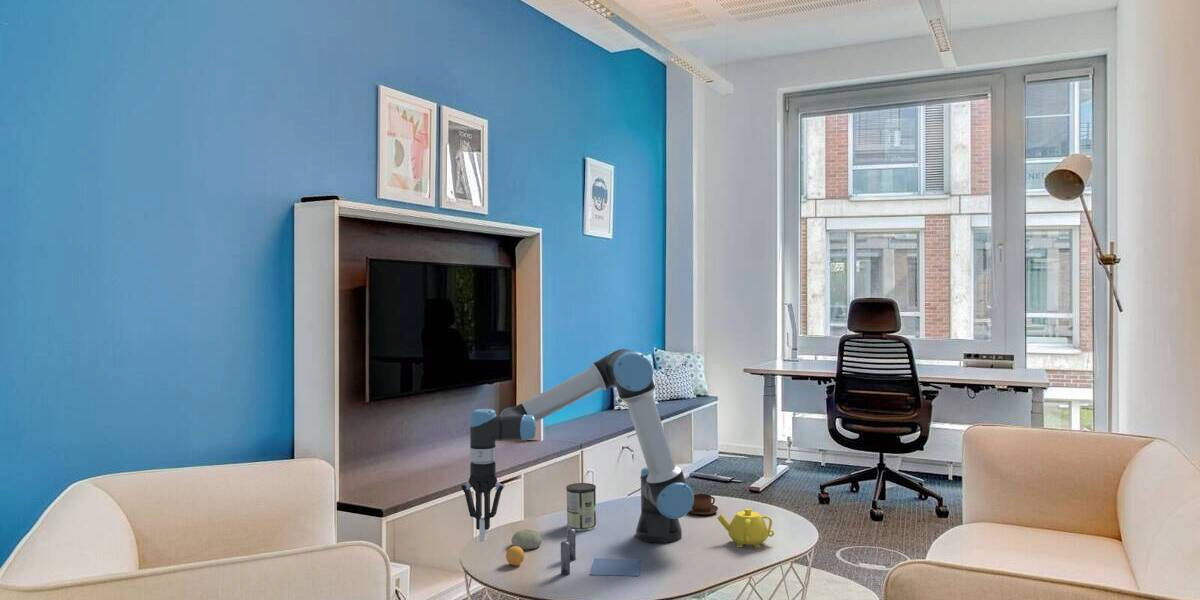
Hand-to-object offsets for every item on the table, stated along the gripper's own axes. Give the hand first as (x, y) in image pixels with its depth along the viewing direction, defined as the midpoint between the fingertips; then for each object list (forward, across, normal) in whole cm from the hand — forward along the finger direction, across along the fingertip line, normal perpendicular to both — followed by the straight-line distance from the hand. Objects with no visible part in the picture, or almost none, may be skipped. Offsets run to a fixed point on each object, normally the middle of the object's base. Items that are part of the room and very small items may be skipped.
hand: (483, 540), depth 235 cm
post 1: (+7, +26, -6) cm, 27 cm away
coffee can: (+7, +25, +40) cm, 48 cm away
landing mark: (+7, +40, 0) cm, 40 cm away
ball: (+4, +10, 0) cm, 11 cm away
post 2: (+7, +26, +6) cm, 27 cm away
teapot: (+7, +80, +26) cm, 84 cm away
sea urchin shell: (+8, +10, +18) cm, 22 cm away
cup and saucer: (+7, +67, +61) cm, 91 cm away
